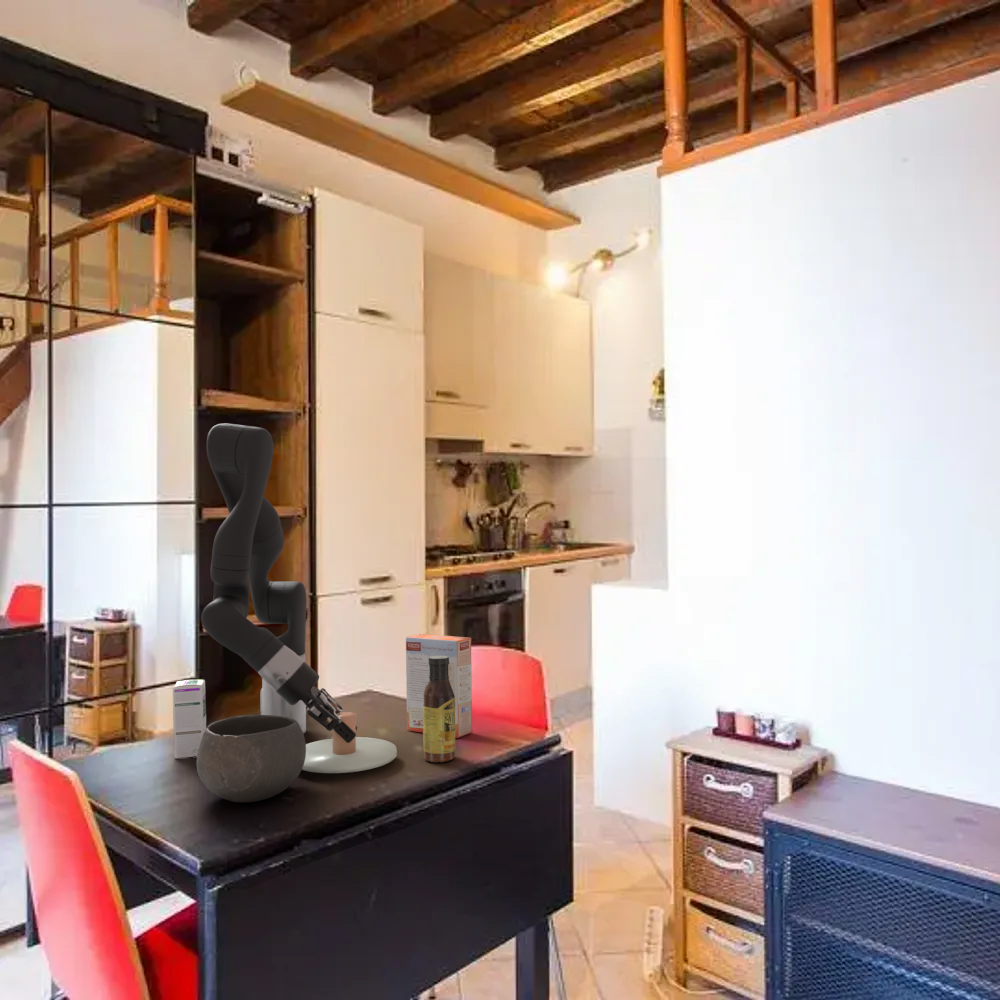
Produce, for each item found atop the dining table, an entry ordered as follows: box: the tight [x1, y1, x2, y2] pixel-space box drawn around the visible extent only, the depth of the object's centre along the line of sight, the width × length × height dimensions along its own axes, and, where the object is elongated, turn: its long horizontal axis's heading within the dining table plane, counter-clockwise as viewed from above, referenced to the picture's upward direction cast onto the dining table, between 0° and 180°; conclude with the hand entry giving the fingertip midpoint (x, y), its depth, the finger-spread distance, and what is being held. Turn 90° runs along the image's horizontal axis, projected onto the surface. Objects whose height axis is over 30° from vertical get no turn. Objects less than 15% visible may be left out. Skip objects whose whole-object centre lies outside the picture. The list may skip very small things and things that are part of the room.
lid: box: [301, 711, 398, 774], centre depth 161 cm, size 20×20×8 cm
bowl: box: [196, 714, 307, 803], centre depth 144 cm, size 18×18×13 cm
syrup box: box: [171, 679, 207, 759], centre depth 169 cm, size 6×6×14 cm
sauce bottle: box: [422, 656, 456, 763], centre depth 164 cm, size 7×6×20 cm
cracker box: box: [405, 633, 473, 739], centre depth 183 cm, size 14×6×21 cm, turn 58°
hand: (353, 735), depth 161 cm, fingers closed on lid, 4 cm apart
